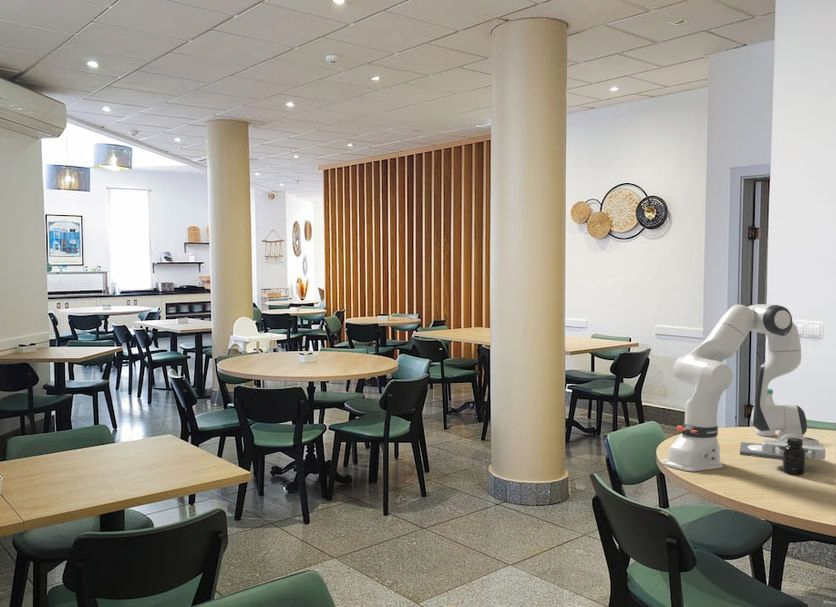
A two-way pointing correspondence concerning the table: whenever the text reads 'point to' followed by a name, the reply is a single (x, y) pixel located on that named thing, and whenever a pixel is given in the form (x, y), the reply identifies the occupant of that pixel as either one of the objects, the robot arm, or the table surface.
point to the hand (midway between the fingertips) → (794, 454)
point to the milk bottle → (769, 402)
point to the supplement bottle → (794, 457)
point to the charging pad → (756, 450)
